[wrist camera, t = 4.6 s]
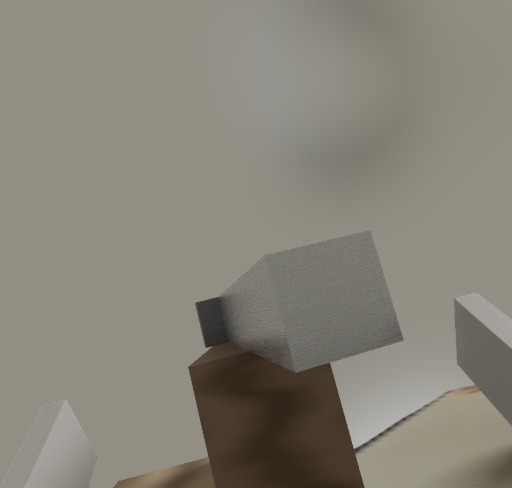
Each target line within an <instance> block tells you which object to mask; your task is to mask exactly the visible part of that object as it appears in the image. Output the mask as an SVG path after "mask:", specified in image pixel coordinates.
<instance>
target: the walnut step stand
mask: <svg viewBox="0 0 512 488" xmlns="http://www.w3.org/2000/svg"><path fill="white" fill-rule="evenodd" d="M189 372H190V377H191V381H192V386H193V390H194V394H195V399H196V403H197V407H198V412H199V417H200V421H201V426H202V430H203V434H204V439H205V443H206V447H207V452H208V457H207V458H204V459H200V460H197V461H193V462H189V463H185V464H182V465H178V466H174V467H170V468H166V469H162V470H159V471H155V472H151V473H148V474H144V475H140V476H137V477H133V478H129V479H125V480H121V481H118V483H117V484H116V485H115V486H114V487H113V488H364V485H363V481H362V477H361V474H360V470H359V466H358V463H357V459H356V456H355V452H354V448H353V445H352V441H351V437H350V434H349V430H348V427H347V423H346V419H345V416H344V412H343V409H342V405H341V401H340V398H339V394H338V390H337V387H336V383H335V379H334V376H333V372H332V369H331V365H330V363H327V364H323V365H320V366H317V367H314V368H310V369H307V370H304V371H300V372H297V373H295V372H293V371H291V370H289V369H287V368H284V367H282V366H280V365H278V364H276V363H274V362H271V361H269V360H267V359H265V358H263V357H261V356H258V355H256V354H254V353H252V352H250V351H248V350H245V349H243V348H241V347H239V346H237V345H235V344H232V343H230V342H226V343H222V344H219V345H215V346H213V347H212V348H210V349H209V350H208V351H207V352H206V353H204V354H203V355H202V356H201V357H200V358H198V359H197V360H196V361H195V362H194V363H193V364H191V365H190V366H189Z"/></svg>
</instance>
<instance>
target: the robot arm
mask: <svg viewBox="0 0 512 488" xmlns="http://www.w3.org/2000/svg"><path fill="white" fill-rule="evenodd" d="M454 308H455V327H456V346H457V364H458V365H459V366H460V367H461V369H462V370H463V371H464V372H465V373H466V374H467V375H468V377H469V378H470V379H471V380H472V381H473V382H474V383H475V385H476V386H477V387H478V388H479V389H480V390H481V391H482V393H483V394H484V395H485V396H486V397H487V398H488V399H489V401H490V402H491V403H492V404H493V405H494V406H495V407H496V408H497V410H498V411H499V412H500V413H501V414H502V415H503V416H504V418H505V419H506V420H507V421H508V422H509V423H510V424H511V426H512V320H511V319H510V318H509V317H507V316H506V315H505V314H503V313H502V312H501V311H500V310H498V309H497V308H496V307H494V306H493V305H492V304H491V303H489V302H488V301H487V300H485V299H484V298H483V297H482V296H480V295H479V294H478V293H477V292H476V293H472V294H468V295H464V296H460V297H456V298H454ZM96 460H97V456H96V455H95V453H94V451H93V449H92V447H91V445H90V443H89V441H88V440H87V438H86V436H85V434H84V432H83V430H82V428H81V427H80V425H79V423H78V421H77V419H76V417H75V415H74V414H73V412H72V410H71V408H70V406H69V404H68V402H67V401H66V399H63V400H59V401H56V402H52V403H48V404H44V405H42V407H41V409H40V411H39V413H38V415H37V417H36V419H35V420H34V422H33V424H32V426H31V428H30V430H29V432H28V434H27V436H26V438H25V439H24V441H23V443H22V445H21V447H20V449H19V451H18V453H17V455H16V456H15V459H14V460H13V462H12V464H11V466H10V468H9V470H8V472H7V474H6V476H5V477H4V480H3V481H2V483H1V485H0V488H88V487H89V484H90V480H91V477H92V474H93V470H94V467H95V464H96Z"/></svg>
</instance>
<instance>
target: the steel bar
mask: <svg viewBox="0 0 512 488" xmlns="http://www.w3.org/2000/svg"><path fill="white" fill-rule="evenodd" d="M195 306H196V310H197V314H198V319H199V323H200V327H201V331H202V336H203V340H204V344H205V347H206V348H207V347H211V346H215V345H219V344H222V343H226V342H230V343H232V344H235V345H237V346H239V347H241V348H243V349H245V350H248V351H250V352H252V353H254V354H256V355H258V356H261V357H263V358H265V359H267V360H269V361H271V362H274V363H276V364H278V365H280V366H282V367H284V368H287V369H289V370H291V371H293V372H295V373H297V372H300V371H304V370H307V369H310V368H314V367H317V366H320V365H323V364H327V363H330V362H333V361H337V360H340V359H343V358H347V357H350V356H353V355H357V354H360V353H363V352H366V351H370V350H373V349H376V348H380V347H383V346H386V345H390V344H393V343H396V342H400V341H403V337H402V333H401V330H400V327H399V323H398V321H397V317H396V314H395V310H394V307H393V304H392V301H391V297H390V294H389V291H388V287H387V284H386V281H385V277H384V274H383V271H382V268H381V264H380V261H379V258H378V255H377V251H376V248H375V245H374V242H373V238H372V235H371V232H370V231H366V232H362V233H358V234H354V235H349V236H345V237H341V238H337V239H332V240H328V241H324V242H319V243H316V244H311V245H307V246H303V247H298V248H294V249H290V250H285V251H281V252H277V253H273V254H268V255H265V256H264V257H263V258H261V259H260V260H259V261H258V262H257V263H256V264H255V265H254V266H252V267H251V268H250V269H249V270H248V271H247V272H246V273H245V274H244V275H242V276H241V277H240V278H239V279H238V280H237V281H236V282H234V283H233V284H232V285H231V286H230V287H229V288H228V289H226V290H225V291H224V292H223V293H222V294H221V295H220V296H219V297H217V298H213V299H209V300H205V301H201V302H197V303H195Z"/></svg>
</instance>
